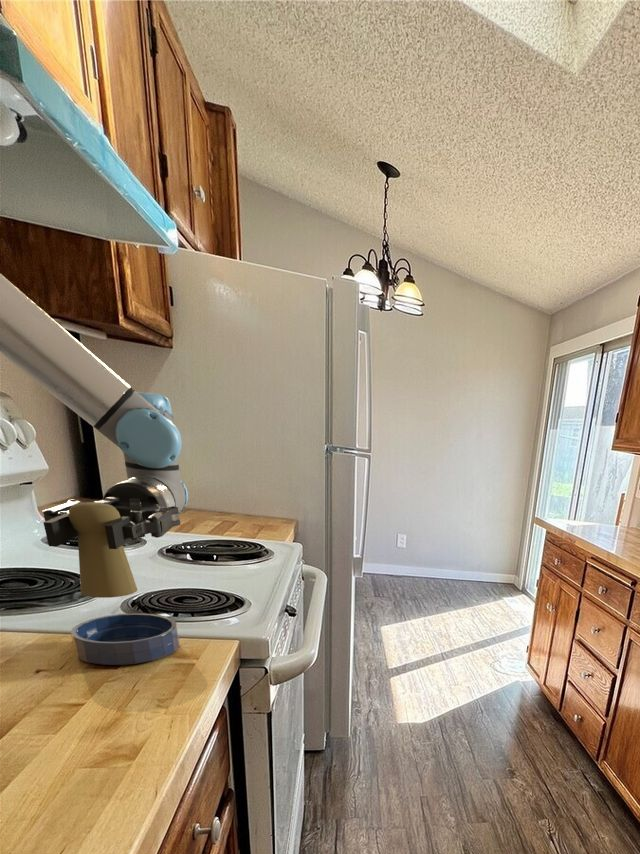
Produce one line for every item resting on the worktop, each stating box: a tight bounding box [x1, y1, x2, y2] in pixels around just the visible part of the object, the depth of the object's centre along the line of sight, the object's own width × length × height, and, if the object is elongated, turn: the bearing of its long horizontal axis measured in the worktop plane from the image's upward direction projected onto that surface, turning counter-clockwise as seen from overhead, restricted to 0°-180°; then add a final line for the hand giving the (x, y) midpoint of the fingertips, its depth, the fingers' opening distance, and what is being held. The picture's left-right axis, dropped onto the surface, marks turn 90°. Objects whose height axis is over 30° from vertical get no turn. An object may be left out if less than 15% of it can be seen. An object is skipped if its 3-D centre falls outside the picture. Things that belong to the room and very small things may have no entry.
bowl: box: [70, 612, 180, 666], centre depth 78 cm, size 12×12×4 cm
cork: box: [68, 501, 138, 599], centre depth 70 cm, size 6×6×11 cm
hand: (81, 535), depth 64 cm, fingers closed on cork, 5 cm apart
